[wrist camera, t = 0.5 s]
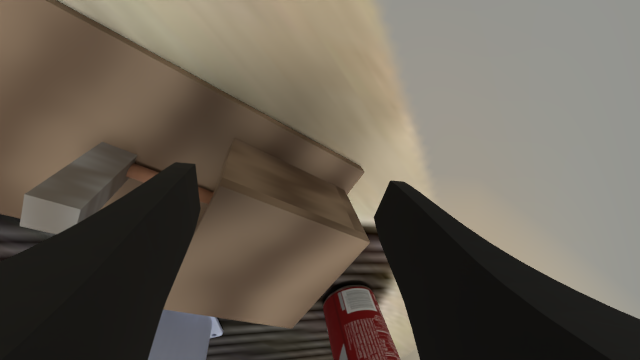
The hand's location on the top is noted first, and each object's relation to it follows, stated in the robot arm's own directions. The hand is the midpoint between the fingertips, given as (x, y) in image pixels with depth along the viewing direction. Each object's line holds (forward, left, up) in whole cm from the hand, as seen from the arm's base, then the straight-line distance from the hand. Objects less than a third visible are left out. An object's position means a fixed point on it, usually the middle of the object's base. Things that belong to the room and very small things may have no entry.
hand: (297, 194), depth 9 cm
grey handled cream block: (-7, -5, -9) cm, 13 cm away
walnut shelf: (-9, -3, -10) cm, 14 cm away
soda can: (+6, -25, -11) cm, 27 cm away
